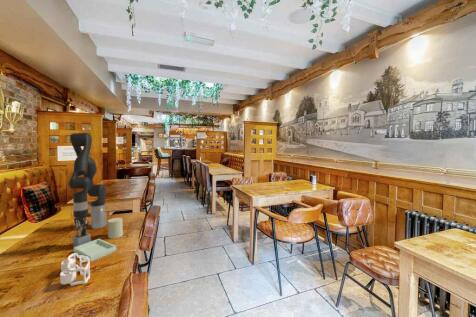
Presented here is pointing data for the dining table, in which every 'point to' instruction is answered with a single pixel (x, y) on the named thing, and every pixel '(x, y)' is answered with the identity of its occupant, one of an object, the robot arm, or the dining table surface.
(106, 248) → the tray
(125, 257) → the dining table surface
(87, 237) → the deep cup
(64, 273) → the white wireframe roller cage
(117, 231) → the can
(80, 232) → the dowel pin
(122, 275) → the dining table surface
